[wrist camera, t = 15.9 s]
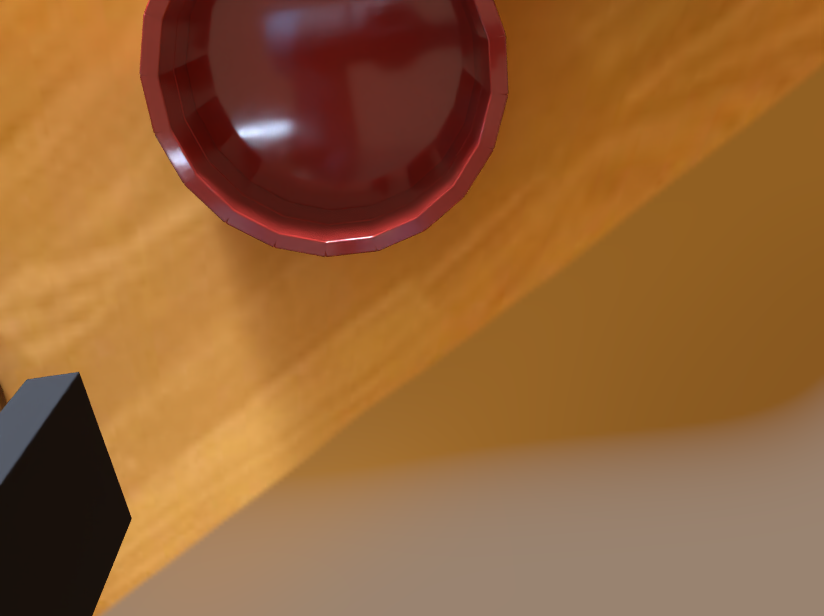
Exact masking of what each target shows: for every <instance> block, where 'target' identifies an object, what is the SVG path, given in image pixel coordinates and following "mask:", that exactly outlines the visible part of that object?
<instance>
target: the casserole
mask: <svg viewBox="0 0 824 616" xmlns="http://www.w3.org/2000/svg"><path fill="white" fill-rule="evenodd" d="M144 13H145V14H144V15H143V29H142V44H141V60H140V78H141V83H142V87H143V91H144V95H145V99H146V103H147V107H148V111H149V115H150V119H151V123H152V127H153V131H154V133H155V136H156V138H157V139H158V141H159V143H160V144H161V146H162V148H163V150H164V151H165V153H166V155H167V156H168V158H169V160H170V161H171V163H172V165H173V167H174V168H175V170H176V172H177V173H178V175H179V177H180V178H181V180H182V182H183V183H185V186H186V187H187V188H188V189H189V190H190V191H192V192H193V193H194V194H195V195H196V196H197V197H198V198H199V199H200V200H201V201H202V202H203V203H204V204H205V205H206V206H208V207H209V208H210V209H211V210H212V211H213V212H214V213H215V214H216V215H217V216H218V217H219V218H220V219H221V220H222V221H223V222H226V223H227V224H228V225H230V226H232V227H234V228H236V229H238V230H240V231H242V232H244V233H246V234H248V235H250V236H252V237H254V238H256V239H258V240H260V241H262V242H264V243H266V244H268V245H270V246H272V247H275V248H279V249H284V250H290V251H295V252H301V253H306V254H312V255H317V256H323V257H325V256H326V257H331V256H339V255H348V254H357V253H366V252H375V251H380V250H382V249H384V248H387V247H389V246H391V245H393V244H396V243H398V242H400V241H403V240H405V239H407V238H409V237H412V236H414V235H416V234H419V233H421V232H423V231H425V230H427V229H428V228H429V227H430V226H431V225H432V224H433V223H435V222H436V221H437V220H438V219H439V218H440V217H442V216H443V215H444V214H445V213H446V212H447V211H449V210H450V209H451V208H452V207H453V206H454V205H455V204H457V203H458V202H459V201H460V200H461V199H462V198H464V196H465V195H466V194H467V192H468V190H469V189H470V187H471V186H472V184H473V182H474V181H475V179H476V178H477V176H478V174H479V173H480V171H481V170H482V168H483V166H484V165H485V163H486V162H487V160H488V158H489V157H490V155H491V153H492V152H493V149H494V147H495V143H496V140H497V136H498V132H499V128H500V124H501V121H502V117H503V113H504V109H505V105H506V102H507V98H508V95H507V94H508V72H507V48H506V35H505V31H504V28H503V25H502V22H501V20H500V17H499V14H498V11H497V8H496V6H495V3H494V0H149V1H148V4H147V6H146V9H145V11H144Z"/></svg>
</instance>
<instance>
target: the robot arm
mask: <svg viewBox="0 0 824 616" xmlns="http://www.w3.org/2000/svg"><path fill="white" fill-rule="evenodd" d="M131 519H132V518H131V515H130V512H129V509H128V507H127V504H126V501H125V498H124V496H123V493H122V490H121V487H120V484H119V482H118V479H117V476H116V473H115V471H114V468H113V465H112V462H111V459H110V457H109V454H108V451H107V448H106V446H105V443H104V440H103V437H102V435H101V432H100V429H99V426H98V423H97V421H96V418H95V415H94V412H93V410H92V407H91V404H90V401H89V398H88V396H87V393H86V390H85V387H84V385H83V382H82V379H81V376H80V373H79V372H76V373H69V374H62V375H55V376H48V377H41V378H34V379H27V380H26V381H25V382H24V384H23V385H22V386H21V387H20V389H19V390H18V391H17V392H16V393H15V395H14V396H13V397H12V398H11V400H10V401H9V402H8V403H7V405H6V401H5V397H4V394H3V391H2V388H1V386H0V616H92V615H93V612H94V610H95V607H96V605H97V603H98V600H99V598H100V595H101V593H102V590H103V588H104V585H105V583H106V580H107V578H108V576H109V573H110V571H111V568H112V566H113V563H114V561H115V558H116V556H117V553H118V551H119V549H120V546H121V544H122V541H123V539H124V536H125V534H126V531H127V529H128V526H129V524H130V522H131Z"/></svg>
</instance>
